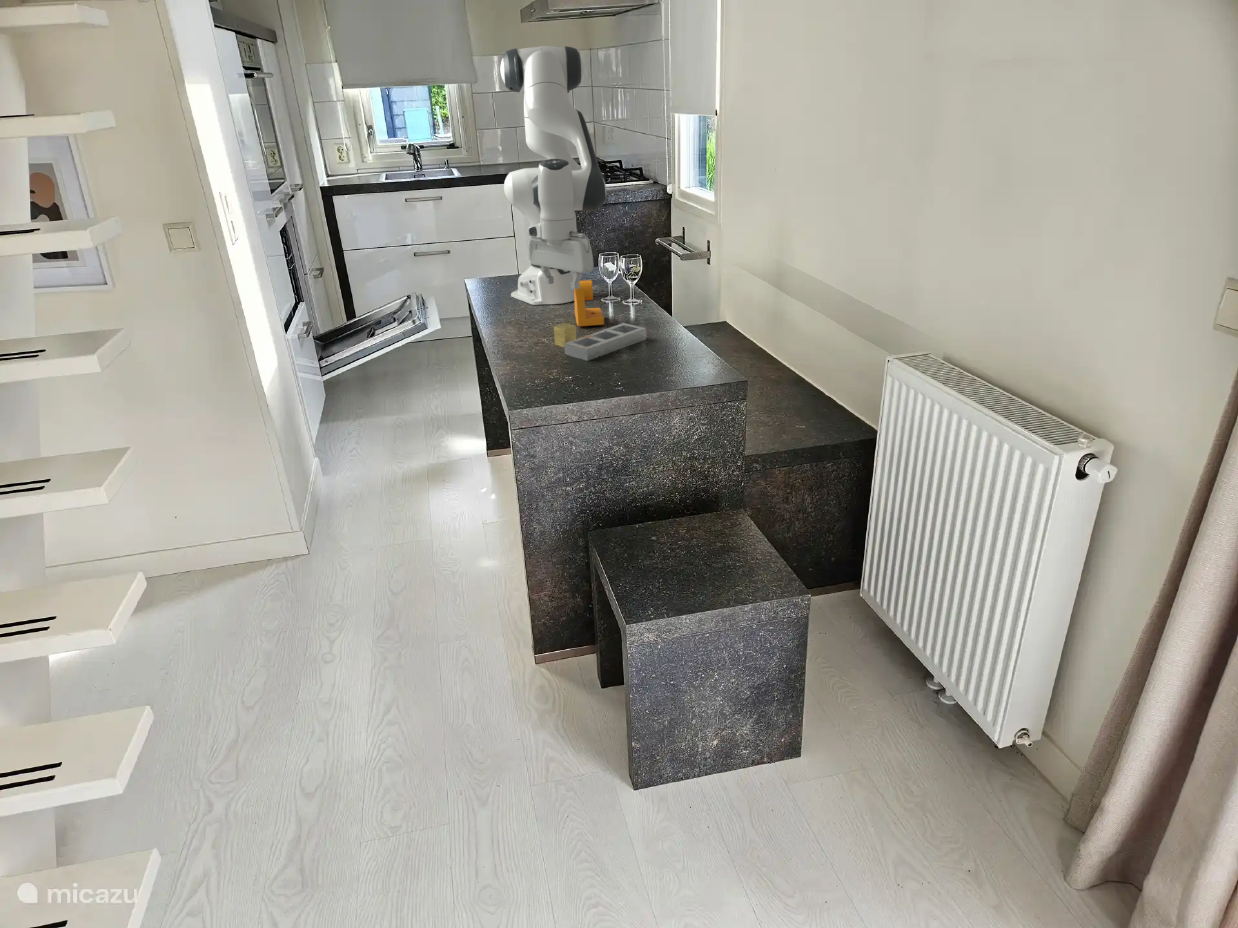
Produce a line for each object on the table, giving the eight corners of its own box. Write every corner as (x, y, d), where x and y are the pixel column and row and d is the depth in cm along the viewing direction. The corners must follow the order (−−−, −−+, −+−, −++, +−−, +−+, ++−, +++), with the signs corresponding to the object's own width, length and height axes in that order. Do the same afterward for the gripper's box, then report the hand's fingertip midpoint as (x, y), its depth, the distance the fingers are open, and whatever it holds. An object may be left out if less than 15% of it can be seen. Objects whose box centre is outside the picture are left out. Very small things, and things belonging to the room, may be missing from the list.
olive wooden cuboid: (555, 345, 213) (553, 326, 210) (566, 341, 215) (564, 322, 213) (565, 347, 210) (564, 329, 208) (576, 344, 213) (575, 325, 210)
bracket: (604, 327, 225) (602, 284, 220) (578, 329, 225) (576, 286, 219) (600, 316, 235) (598, 275, 230) (575, 318, 234) (572, 277, 229)
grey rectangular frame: (565, 354, 205) (564, 343, 204) (623, 333, 219) (623, 323, 218) (587, 361, 200) (586, 349, 199) (646, 339, 214) (646, 328, 213)
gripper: (597, 232, 195) (600, 289, 201) (540, 224, 208) (544, 278, 214) (579, 236, 191) (582, 294, 197) (522, 228, 204) (526, 283, 210)
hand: (562, 286), depth 206 cm, fingers open, 8 cm apart
